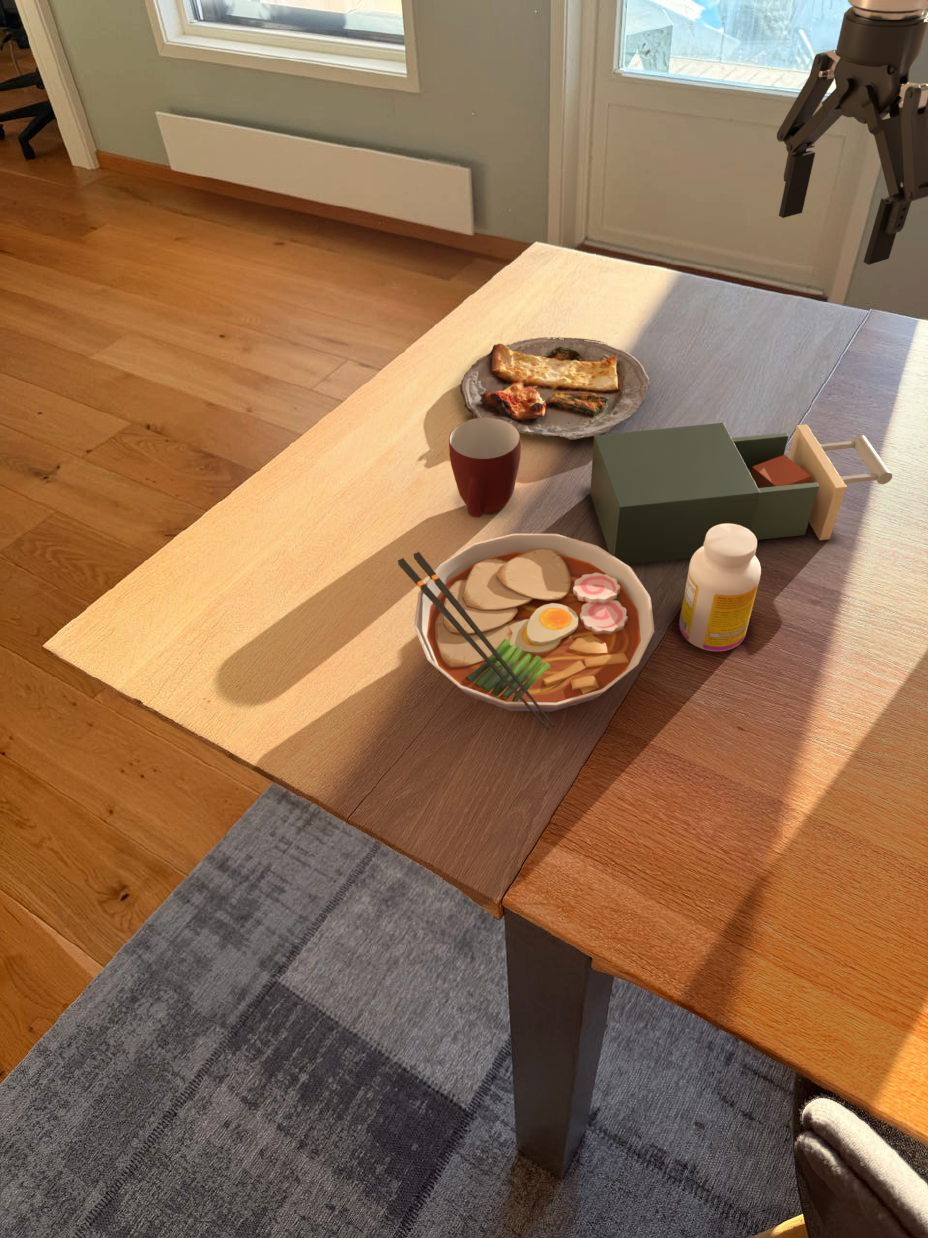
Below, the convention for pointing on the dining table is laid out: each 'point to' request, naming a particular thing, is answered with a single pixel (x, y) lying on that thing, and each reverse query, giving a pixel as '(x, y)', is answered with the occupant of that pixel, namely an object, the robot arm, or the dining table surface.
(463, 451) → the mug
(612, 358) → the food plate
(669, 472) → the cabinet
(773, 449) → the drawer
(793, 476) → the block
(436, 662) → the ramen bowl
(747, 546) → the supplement bottle
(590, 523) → the dining table surface
